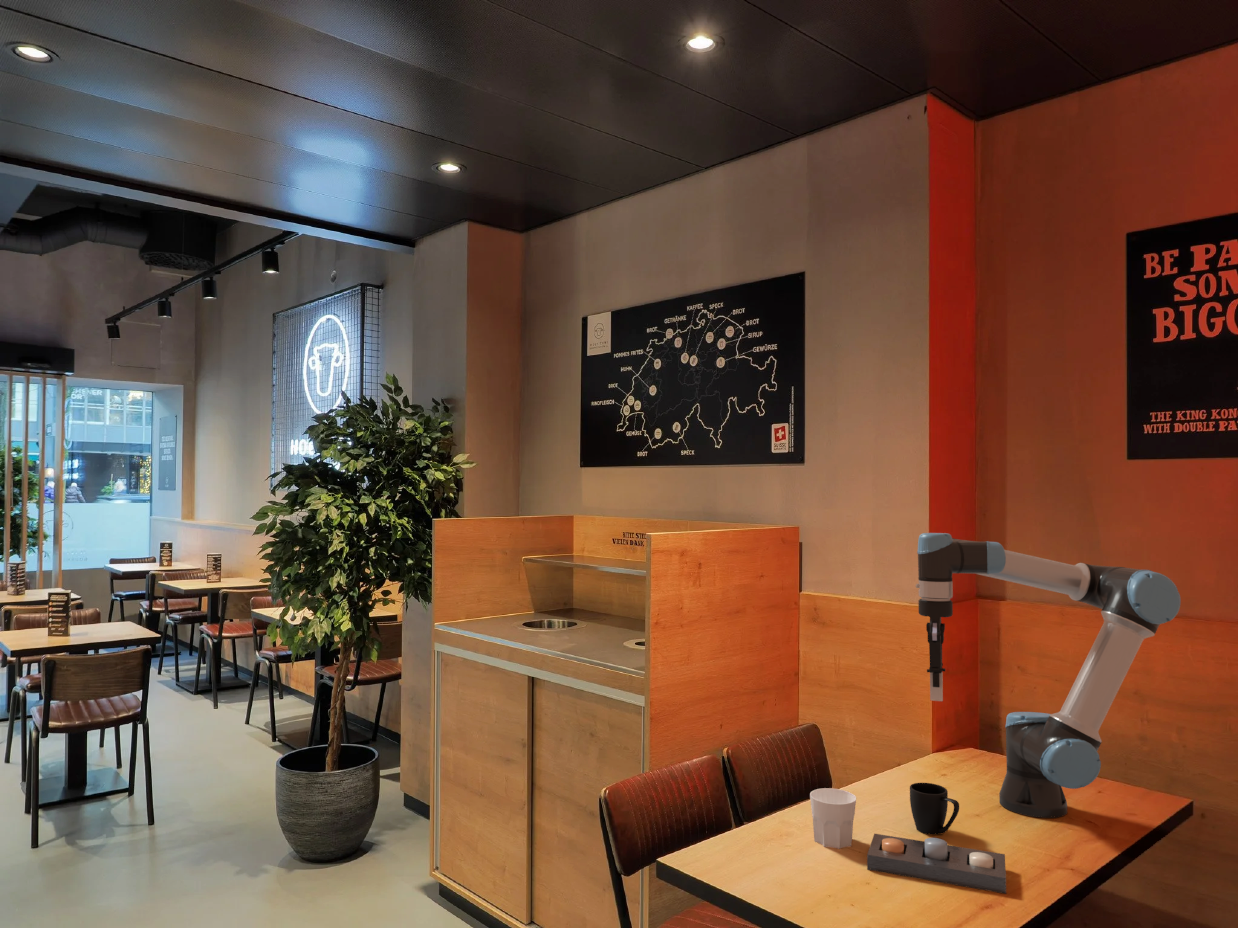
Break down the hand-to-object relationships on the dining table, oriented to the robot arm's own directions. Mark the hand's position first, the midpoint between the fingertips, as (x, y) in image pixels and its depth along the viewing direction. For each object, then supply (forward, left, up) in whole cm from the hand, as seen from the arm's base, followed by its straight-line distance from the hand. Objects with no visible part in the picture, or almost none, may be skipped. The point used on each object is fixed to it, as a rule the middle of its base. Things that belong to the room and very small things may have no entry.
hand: (936, 699), depth 196 cm
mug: (+2, +3, -30) cm, 30 cm away
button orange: (+18, +17, -29) cm, 38 cm away
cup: (+27, +5, -30) cm, 40 cm away
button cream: (+4, +25, -29) cm, 39 cm away
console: (+11, +21, -29) cm, 38 cm away
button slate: (+11, +21, -28) cm, 36 cm away
